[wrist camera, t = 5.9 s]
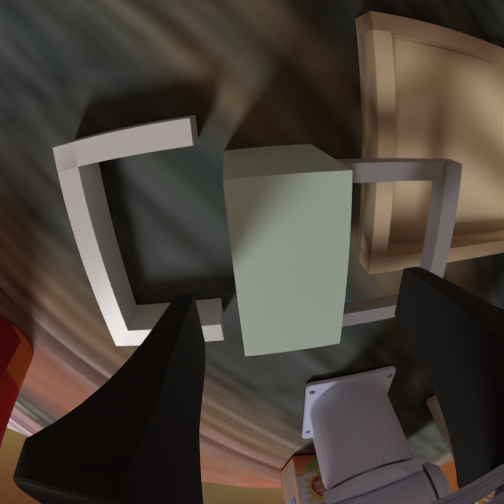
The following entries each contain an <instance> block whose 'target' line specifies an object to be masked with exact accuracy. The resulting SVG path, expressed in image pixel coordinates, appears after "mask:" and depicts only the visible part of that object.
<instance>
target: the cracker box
mask: <svg viewBox="0 0 504 504" xmlns="http://www.w3.org/2000/svg"><path fill="white" fill-rule="evenodd" d="M280 476H281V483H282V490H283V496H284V503H285V504H318V503H320V502H324V497H323V492H325V491H327V489H326V487H325V486H324V484H323V481H322V477H321V472H320V468H319V463H318V459H317V455H316V454H315V455H298V456H293V457H292V458H291V459H290V461H289V462H288V463H287V464H286V466H285V467H284V468H283V470H282V471H281V472H280Z"/></svg>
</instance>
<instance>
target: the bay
mask: <svg viewBox="0 0 504 504" xmlns="http://www.w3.org/2000/svg"><path fill="white" fill-rule="evenodd" d="M197 139H198V133H197V124H196V115H192V116H185V117H178V118H172V119H166V120H160V121H154V122H149V123H144V124H139V125H134V126H129V127H124V128H119V129H115V130H110V131H106V132H102V133H98V134H94V135H90V136H86V137H82V138H78V139H75V140H72V141H69V142H67V143H64V144H61V145H59V146H56V147H54V148H53V152H54V157H55V162H56V167H57V171H58V176H59V180H60V184H61V189H62V193H63V197H64V201H65V204H66V208H67V212H68V215H69V219H70V223H71V226H72V229H73V233H74V236H75V239H76V242H77V246H78V249H79V252H80V255H81V258H82V261H83V264H84V267H85V270H86V272H87V275H88V278H89V281H90V283H91V286H92V289H93V291H94V294H95V297H96V299H97V302H98V304H99V307H100V309H101V312H102V314H103V316H104V319H105V321H106V324H107V326H108V328H109V331H110V333H111V335H112V337H113V340H114V342H115V344H116V346H135V345H141V343H142V342H143V341H144V340H145V338H146V337H147V335H148V334H149V333H150V331H151V330H152V329H153V327H154V326H155V325H156V323H157V322H158V320H159V319H160V317H161V316H162V314H163V313H164V312H165V310H166V309H167V307H168V306H169V304H170V303H159V304H146V305H136V302H135V299H134V296H133V293H132V290H131V287H130V283H129V280H128V277H127V274H126V270H125V267H124V264H123V260H122V257H121V253H120V250H119V246H118V243H117V239H116V235H115V232H114V228H113V224H112V220H111V216H110V212H109V208H108V204H107V199H106V195H105V190H104V186H103V181H102V176H101V171H100V166H99V162H101V161H106V160H111V159H115V158H120V157H125V156H131V155H136V154H142V153H147V152H153V151H159V150H165V149H172V148H178V147H185V146H193V145H194V143H195V142H196V140H197ZM196 305H197V309H198V313H199V318H200V322H201V326H202V331H203V335H204V339H205V341H217V340H224V316H223V307H222V301H221V298H216V299H206V300H196Z"/></svg>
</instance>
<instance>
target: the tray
mask: <svg viewBox="0 0 504 504" xmlns="http://www.w3.org/2000/svg"><path fill="white" fill-rule="evenodd" d="M355 23H356V33H357V44H358V56H359V70H360V89H361V119H362V158H429V159H434V158H444V159H452V160H454V161H456V162H459V163H461V164H462V174H461V183H460V191H459V198H458V205H457V212H456V218H455V224H454V229H453V235H452V240H451V245H450V250H449V254H448V259H447V262H453V261H459V260H465V259H471V258H476V257H482V256H487V255H493V254H498V253H504V49H503V48H501V47H499V46H496V45H494V44H491V43H489V42H486V41H484V40H481V39H478V38H476V37H473V36H470V35H467V34H464V33H461V32H458V31H455V30H452V29H448V28H445V27H442V26H438V25H434V24H431V23H427V22H423V21H419V20H415V19H410V18H406V17H401V16H396V15H391V14H386V13H380V12H374V11H370V12H368V13H366V14H364V15H362V16H360V17H358V18H356V19H355ZM431 189H432V181H390V182H365V183H361V199H360V218H359V234H358V247H357V259H358V260H359V262H360V263H361V264H362V266H363V267H364V269H365V270H366V271H367V273H368V274H376V273H383V272H390V271H397V270H403V269H404V268H410V267H416V266H418V267H420V263H421V257H422V252H423V246H424V240H425V234H426V228H427V221H428V214H429V206H430V198H431Z"/></svg>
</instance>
